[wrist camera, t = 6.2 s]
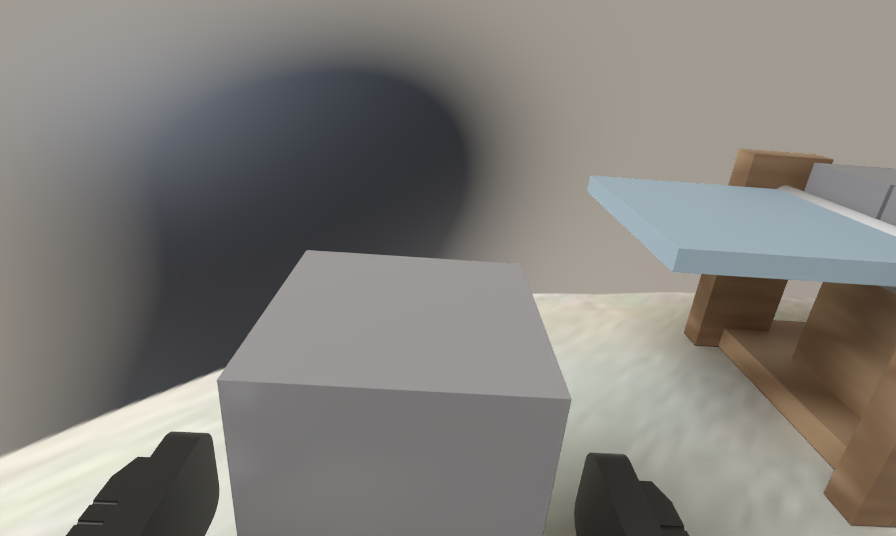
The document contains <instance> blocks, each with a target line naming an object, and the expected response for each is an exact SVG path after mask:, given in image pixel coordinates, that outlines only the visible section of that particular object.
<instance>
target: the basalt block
mask: <svg viewBox="0 0 896 536" xmlns="http://www.w3.org/2000/svg"><path fill="white" fill-rule="evenodd" d="M217 383H218V391H219V399H220V406H221V414H222V422H223V429H224V437H225V445H226V452H227V460H228V468H229V475H230V483H231V491H232V498H233V506H234V514H235V522H236V529H237V536H543V532H544V527H545V522H546V518H547V513H548V508H549V503H550V499H551V494H552V489H553V484H554V480H555V475H556V470H557V465H558V460H559V456H560V451H561V446H562V441H563V437H564V432H565V427H566V422H567V418H568V413H569V408H570V403H571V397H570V394H569V392H568V389H567V386H566V383H565V381H564V378H563V375H562V373H561V370H560V367H559V365H558V362H557V359H556V357H555V354H554V351H553V349H552V346H551V343H550V341H549V338H548V335H547V333H546V330H545V327H544V325H543V322H542V319H541V317H540V314H539V311H538V309H537V306H536V303H535V301H534V298H533V295H532V292H531V290H530V287H529V284H528V282H527V279H526V277H525V274H524V271H523V268H522V266H521V264H511V263H495V262H479V261H464V260H450V259H434V258H418V257H403V256H387V255H372V254H357V253H342V252H325V251H311V250H307V251H306V252H305V254H304V255H303V256H302V258H301V260H300V261H299V262H298V264H297V265H296V267H295V268H294V269H293V271H292V273H291V274H290V275H289V277H288V278H287V280H286V281H285V283H284V284H283V285H282V287H281V289H280V290H279V291H278V293H277V294H276V296H275V297H274V298H273V300H272V301H271V303H270V304H269V306H268V307H267V308H266V310H265V312H264V313H263V314H262V316H261V317H260V319H259V320H258V321H257V323H256V324H255V326H254V327H253V329H252V330H251V332H250V333H249V334H248V336H247V338H246V339H245V340H244V342H243V343H242V345H241V346H240V348H239V349H238V350H237V352H236V353H235V355H234V356H233V358H232V359H231V361H230V362H229V363H228V365H227V366H226V368H225V369H224V371H223V372H222V374H221V375H220V376H219V378H218V379H217Z"/></svg>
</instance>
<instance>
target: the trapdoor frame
mask: <svg viewBox="0 0 896 536" xmlns="http://www.w3.org/2000/svg"><path fill="white" fill-rule="evenodd" d="M832 162H833V159H829V158H825V157H822V156H818V155H814V154H802V153H789V152H775V151H763V150H750V149H749V150H748V149H739V152H738V155H737V158H736V162H735V165H734V168H733V172H732V175H731V178H730V182H729V185H728V186H741V187H754V188H768V189H778V188H779V187H781V186H786V185H787V186H791V187H794V188H796V189H799V190H802V191H804V190H805V188H806V185H807V182H808V179H809V177H810V174H811V171H812V168H813V166H814V163H825V164H832ZM787 281H788V280H787V279H772V278H756V277H741V276H726V275H710V274H702V275H701V278H700V281H699V284H698V288H697V291H696V294H695V298H694V301H693V304H692V308H691V311H690V314H689V318H688V321H687V324H686V328H685V331H684V333H685V334H686V335H687V337H688V338H689V339H690V340H691V341H692V342H693V343H694V345H704V346H719V348H720V349H721V350H722V351H723V352H724V353H725V354H726V355H727V356H728V357H729V358H730V359H731V360H732V361H733V362H734V363H735V364H736V366H737V367H738V368H739V369H740V370H741V371H742V372H743V373H744V374H745V375H746V376H747V377H748V378H749V379H750V380H751V381H752V382H753V384H754V385H755V386H756V387H757V388H758V389H759V390H760V391H761V392H762V393H763V394H764V395H765V396H766V397H767V398H768V399H769V400H770V402H771V403H772V404H773V405H774V406H775V407H776V408H777V409H778V410H779V411H780V412H781V413H782V414H783V415H784V416H785V417H786V418H787V420H788V421H789V422H790V423H791V424H792V425H793V426H794V427H795V428H796V429H797V430H798V431H799V432H800V433H801V434H802V435H803V436H804V438H805V439H806V440H807V441H808V442H809V443H810V444H811V445H812V446H813V447H814V448H815V449H816V450H817V451H818V452H819V453H820V454H821V456H822V457H823V458H824V459H825V460H826V461H827V462H828V463H829V464H830V465H831V466H832V467H833V468H834V469H835V471H834V473H833V475H832V477H831V479H830V481H829V483H828V485H827V487H826V489H825V491H824V494H825V496H826V497H827V498H828V499H829V500H830V501H831V502H832V504H833V505H834V506H835V507H836V508H837V509H838V511H839V512H840V513H841V514H842V515H843V516H844V517H845V519H846V520H847V521H848V522H849V523H850V524H851V525H862V526H884V527H896V294H894V293H892V292H890V291H888V290H886V289H884V288H882V287H880V286H879V285H863V284H848V283H833V282H823V283H822V286H821V288H820V290H819V293H818V295H817V298H816V300H815V302H814V305H813V307H812V310H811V312H810V315H809V317H808V320H807V322H793V321H777V320H773V318H774V316H775V313H776V311H777V308H778V305H779V303H780V300H781V297H782V295H783V292H784V289H785V287H786V284H787Z"/></svg>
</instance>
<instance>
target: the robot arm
mask: <svg viewBox="0 0 896 536" xmlns="http://www.w3.org/2000/svg"><path fill="white" fill-rule="evenodd" d="M218 499H219V481H218V474H217V467H216V460H215V453H214V446H213V440H212V437H211V435H210V434H209V433H191V432H170V433H168V434H167V435H166V436H165V437H164V438H163V440H162V441H161V443H160V444H159V445H158V447H157V448H156V450H155V451H154V452H153V454H152V455H151V457H137V458H136V459H134V460H133V461H132V462H130V463H129V464H128V465H126V466H125V467H124V468H122V469H121V470H120V471H118V472H117V473H116V474H114V475H113V476H112V477H111V478H110V479H109V481H108V482H107V483H106V484H105V486H104V487H103V488H102V490H101V491H100V492H99V494H98V495H97V496H96V497H95V499H94V501H93V504H92V505H89V506H88V508H87V509H86V510H85V512H84V513H83V514H82V515H81V517H80V518H79V519H78V523H77V525H74V526H73V527H72V528H71V530H70V531H69V532H68V534H67V535H66V536H205V534H206V532H207V530H208V528H209V526H210V524H211V522H212V520H213V517H214V515H215V512H216V509H217V505H218ZM574 517H575V528H576V534H577V536H689V535H688V533H687V531H685V530H684V525H683V523H682V521H681V519H680V517H679V515H678V513H677V511H676V510H675V508H674V506H673V504H672V502H671V501H670V500H669V499H668V498H667V497H666V496H665V495H664V494H663V493H662V492H661V491H660V490H659V489H658V488H657V487H656V485H655V484H654V483H653V482H652V481H639V480H638V478H637V476H636V473H635V471H634V469H633V467H632V465H631V463H630V461H629V459H628V457H627V456H626V455H624V454H607V453H589V454H588V455H587V457H586V461H585V465H584V469H583V473H582V477H581V481H580V486H579V490H578V494H577V498H576V502H575V512H574Z"/></svg>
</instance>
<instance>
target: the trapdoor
mask: <svg viewBox="0 0 896 536" xmlns="http://www.w3.org/2000/svg"><path fill="white" fill-rule="evenodd" d="M588 192H589V193H590V194H591V195H592V196H593V197H594V198H595V199H596V200H597V201H598V202H599V203H600V204H601V205H602V206H604V208H605V209H606V210H608V211H609V212H610V213H611V214H612V215H613V216H614V217H615V218H616V219H617V220H618V221H619V222H620V223H621V224H622V225H623V226H624V227H625V228H626V229H628V230H629V231H630V232H631V233H632V234H633V235H634V236H635V237H636V238H637V239H638V240H639V241H640V242H641V243H642V244H643V245H644V246H646V247H647V248H648V249H649V250H650V251H651V252H652V253H653V254H654V255H655V256H656V257H657V258H658V259H659V260H660V261H661V262H662V263H663V264H665V265H666V266H667V267H668V268H669V269H670V270H671V271H672V272H681V273H695V274H710V275H726V276H741V277H756V278H772V279H787V280H803V281H817V282H833V283H848V284H863V285H879V286H880V287H882V288H884V289H886V290H888V291H890V292H892V293H894V294H896V169H891V168H878V167H865V166H851V165H838V164H825V163H814V166H813V168H812V171H811V174H810V177H809V179H808V182H807V185H806V188H805V190H804V191H802V190H799V189H796V188H794V187H791V186H787V185H786V186H781V187H779V188H778V189H768V188H754V187H741V186H726V185H712V184H699V183H686V182H672V181H658V180H644V179H630V178H617V177H603V176H590V180H589V186H588Z"/></svg>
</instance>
